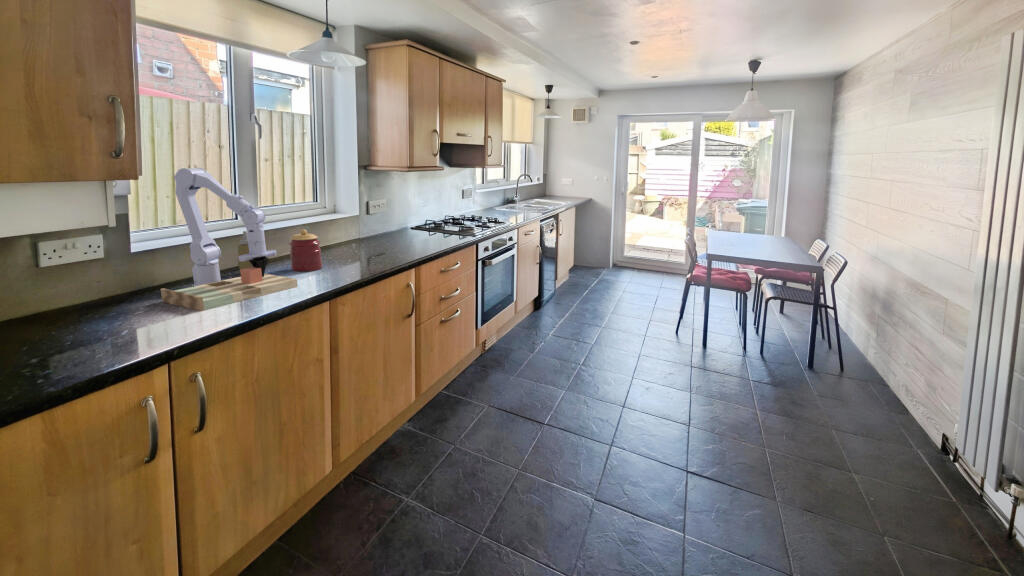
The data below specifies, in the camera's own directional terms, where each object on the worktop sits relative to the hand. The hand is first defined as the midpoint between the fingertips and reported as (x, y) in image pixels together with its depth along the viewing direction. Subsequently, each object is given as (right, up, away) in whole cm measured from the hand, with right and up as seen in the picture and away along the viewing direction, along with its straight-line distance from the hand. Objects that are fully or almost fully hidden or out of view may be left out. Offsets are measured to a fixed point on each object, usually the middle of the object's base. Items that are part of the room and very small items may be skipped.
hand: (260, 276), depth 189 cm
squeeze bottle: (-17, +2, +24) cm, 29 cm away
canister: (+4, +4, +33) cm, 34 cm away
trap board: (-5, -6, -8) cm, 12 cm away
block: (-1, -2, -4) cm, 4 cm away
